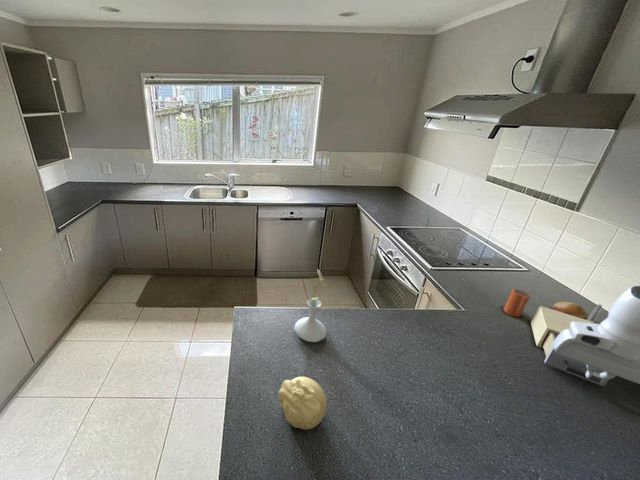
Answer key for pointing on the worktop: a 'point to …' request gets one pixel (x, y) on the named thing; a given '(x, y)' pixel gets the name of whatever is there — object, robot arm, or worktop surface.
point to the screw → (594, 313)
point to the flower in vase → (312, 319)
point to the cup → (516, 302)
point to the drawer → (565, 360)
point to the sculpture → (302, 402)
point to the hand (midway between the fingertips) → (593, 379)
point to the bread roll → (570, 309)
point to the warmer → (551, 323)
